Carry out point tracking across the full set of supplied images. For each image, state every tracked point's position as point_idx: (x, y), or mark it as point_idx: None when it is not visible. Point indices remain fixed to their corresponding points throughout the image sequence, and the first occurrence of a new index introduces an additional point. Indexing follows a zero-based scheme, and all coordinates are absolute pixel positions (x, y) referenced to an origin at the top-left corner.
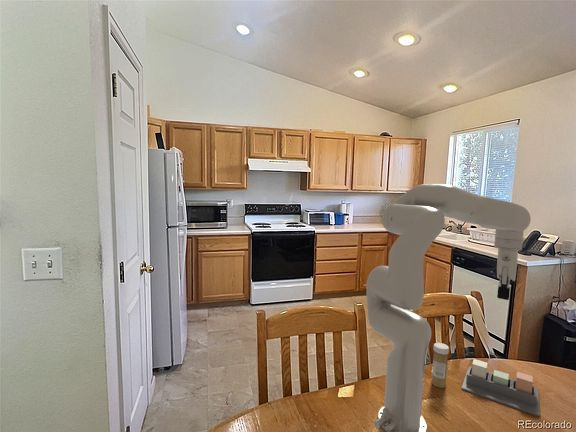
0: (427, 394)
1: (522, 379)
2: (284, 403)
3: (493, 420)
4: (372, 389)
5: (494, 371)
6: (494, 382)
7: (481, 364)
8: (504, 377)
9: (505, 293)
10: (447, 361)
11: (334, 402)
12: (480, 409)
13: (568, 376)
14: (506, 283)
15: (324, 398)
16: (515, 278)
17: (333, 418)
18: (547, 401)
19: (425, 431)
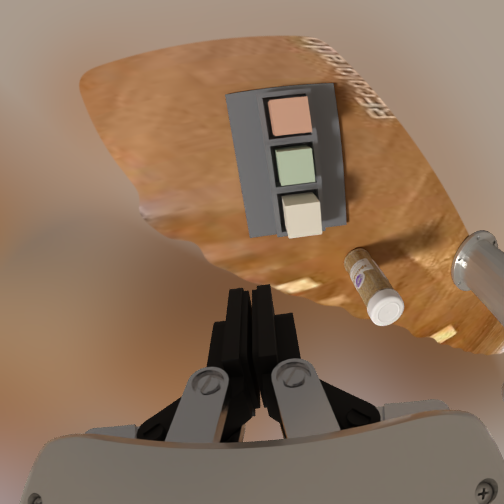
0: (400, 262)
1: (310, 118)
2: (479, 351)
3: (404, 154)
4: (427, 319)
5: (291, 183)
6: (316, 173)
7: (308, 215)
8: (306, 157)
9: (295, 336)
10: (376, 277)
11: (466, 328)
12: (388, 178)
13: (89, 73)
14: (379, 414)
15: (463, 338)
16: (354, 449)
17: (487, 312)
18: (250, 74)
19: (484, 232)
